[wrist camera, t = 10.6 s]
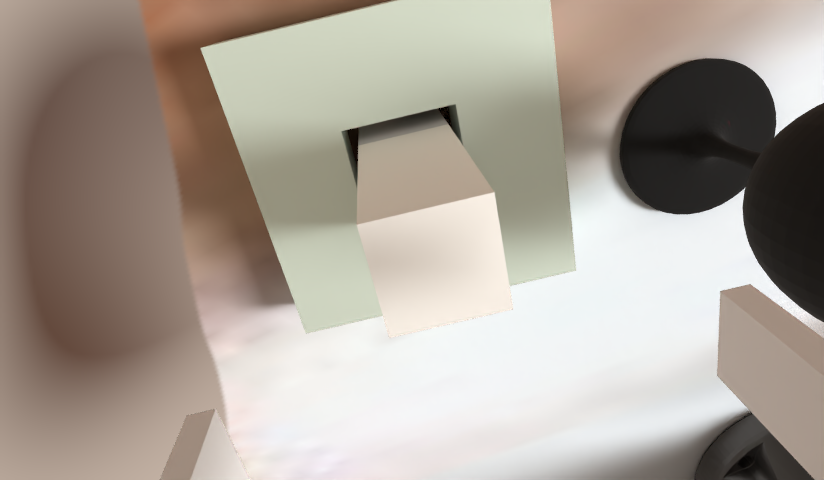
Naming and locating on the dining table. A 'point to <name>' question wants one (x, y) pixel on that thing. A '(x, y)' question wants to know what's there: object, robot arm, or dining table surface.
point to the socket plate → (388, 99)
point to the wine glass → (734, 166)
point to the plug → (428, 226)
